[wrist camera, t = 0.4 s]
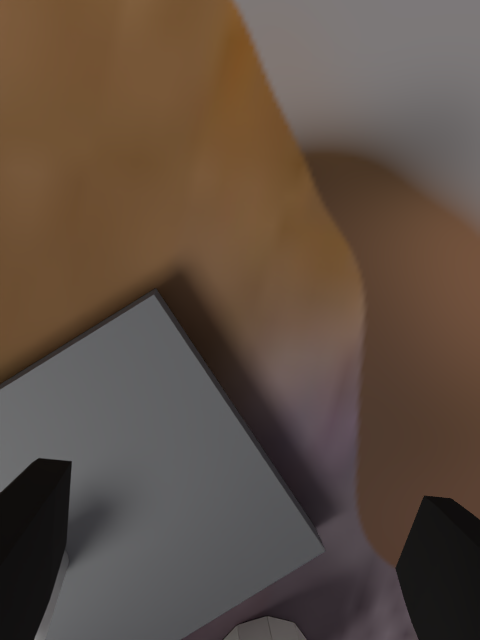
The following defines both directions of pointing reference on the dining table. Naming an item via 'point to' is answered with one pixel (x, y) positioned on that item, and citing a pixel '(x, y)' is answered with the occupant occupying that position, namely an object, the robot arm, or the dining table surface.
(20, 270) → the dining table surface
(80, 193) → the dining table surface
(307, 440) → the dining table surface
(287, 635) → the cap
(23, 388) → the post board
